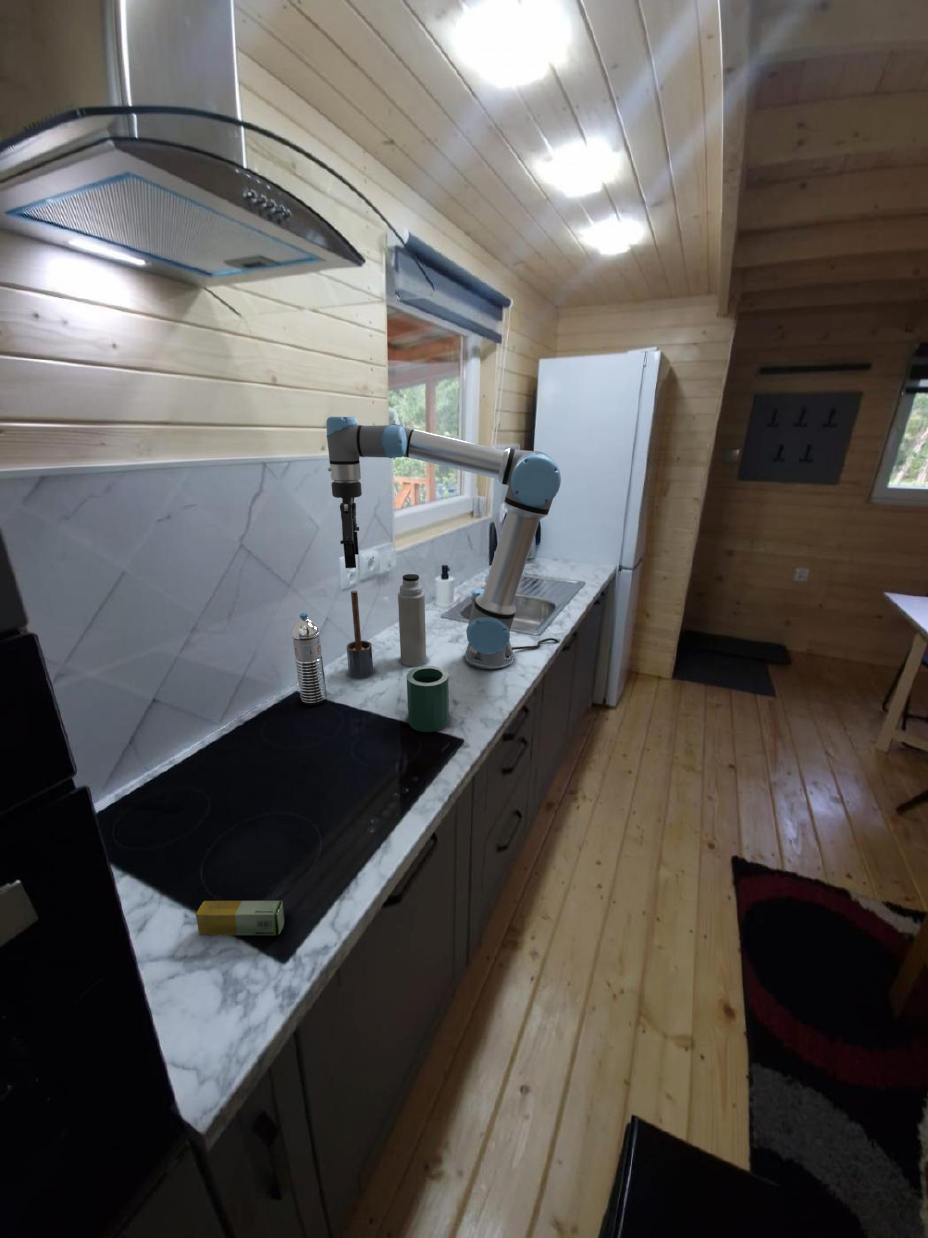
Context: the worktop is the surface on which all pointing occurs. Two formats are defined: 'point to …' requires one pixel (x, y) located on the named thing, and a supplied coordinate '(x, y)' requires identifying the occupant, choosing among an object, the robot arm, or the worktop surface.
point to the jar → (428, 698)
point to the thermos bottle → (412, 621)
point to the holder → (360, 660)
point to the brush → (356, 621)
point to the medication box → (240, 918)
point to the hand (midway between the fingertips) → (352, 560)
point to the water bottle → (309, 661)
